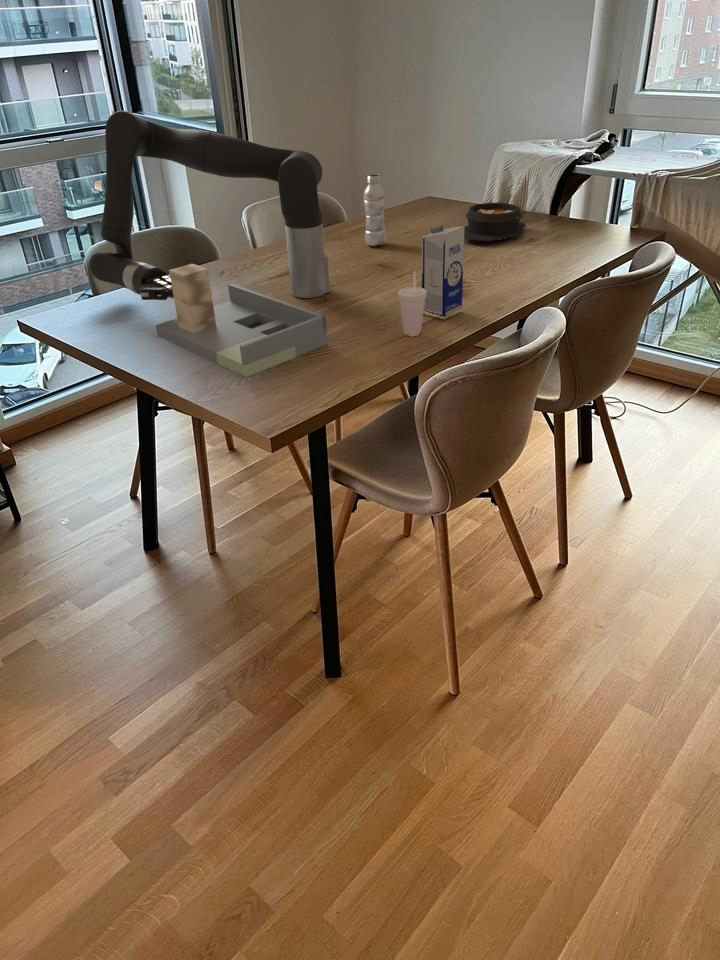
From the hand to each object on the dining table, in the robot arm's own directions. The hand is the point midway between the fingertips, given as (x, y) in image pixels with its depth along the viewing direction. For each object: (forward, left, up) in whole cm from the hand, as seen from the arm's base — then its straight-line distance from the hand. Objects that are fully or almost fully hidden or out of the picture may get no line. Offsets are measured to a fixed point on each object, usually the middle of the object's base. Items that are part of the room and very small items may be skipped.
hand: (185, 295), depth 169 cm
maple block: (-1, +3, -7) cm, 7 cm away
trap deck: (-9, +9, -9) cm, 16 cm away
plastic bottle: (-67, -43, -9) cm, 80 cm away
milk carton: (-56, +17, -9) cm, 59 cm away
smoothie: (-44, +25, -9) cm, 51 cm away
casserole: (-102, -33, -9) cm, 107 cm away
